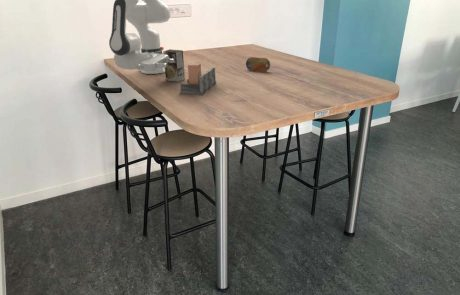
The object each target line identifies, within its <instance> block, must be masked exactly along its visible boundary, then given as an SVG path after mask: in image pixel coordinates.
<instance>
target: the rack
mask: <svg viewBox="0 0 460 295" xmlns="http://www.w3.org/2000/svg"><path fill="white" fill-rule="evenodd" d="M186 81H187V83H180V89H179V92H180V94H183V95H195V96H196V95H198V96H204V95H206V93H207V92H209V90H211V89H212V88H214V86H216V84H217V81H216V67H215V66H212V67H211V68H210V69H208V70H206V71H205V72H204V73H202V74H201V76H200V77H199V81H200V85H198V84H189V78H187V79H186Z"/></svg>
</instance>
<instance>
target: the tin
mask: <svg viewBox="0 0 460 295" xmlns="http://www.w3.org/2000/svg"><path fill="white" fill-rule="evenodd" d="M245 66H246V68H247V70H248V71H250V72H256V73H265V72H266V73H267V71H269V69H271V68H270V67H271V62H270V61H269V59H268V58H266V57H257V56H253V57H252V56H251V57H249V58H247V60H246V62H245Z"/></svg>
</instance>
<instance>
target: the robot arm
mask: <svg viewBox="0 0 460 295" xmlns="http://www.w3.org/2000/svg"><path fill="white" fill-rule="evenodd" d="M139 1H140V0H114V2H113V6H112V7H113V8H112V22H111V25H112V26H111V33H110V37H109V41H108V44H109V45H108V46H109V48H110V50H111V52H112V53H113V54H114V55H113V61H114V64H115V65H116V67H118V68H120V69H123V70H131V71H132V70H137V71H139V72H141V73H142V74H146V75H153V74H154V75H156V74H162V73H165V67H166V63H167V62H170V63H173V62H174V59H170V58H169V56H168V55H166V54H163V51H164V46H161V38H160V33H158V31H156V30H154V29H151V27H150V26H149V24H164V23H166V22H168V21H169V20H170V17H171V10H170V7H169V6H168V5H167V4H166V3H164V2H163V1H162V0H141V1H142V2H141V3H140V2H139ZM127 22H128V23H130V24H131V25H132V26H134V28H135V30H136V31H137V32H138V33H137V34H136V33H132V32H131V33H127V32H126V29H127ZM138 35H139V36H138Z"/></svg>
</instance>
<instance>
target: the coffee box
mask: <svg viewBox="0 0 460 295" xmlns="http://www.w3.org/2000/svg"><path fill="white" fill-rule="evenodd" d="M162 52H163V53H162V54H166V55H168V56H169V58H170V59H174V62H173V63H170V62H167V63H166V67H165V80H166V81H170V82H181V81H185V79H186V77H185V76H186V74H185V63H184V62H185V61H184V51H183V50H179V49H166V50H162Z"/></svg>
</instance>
